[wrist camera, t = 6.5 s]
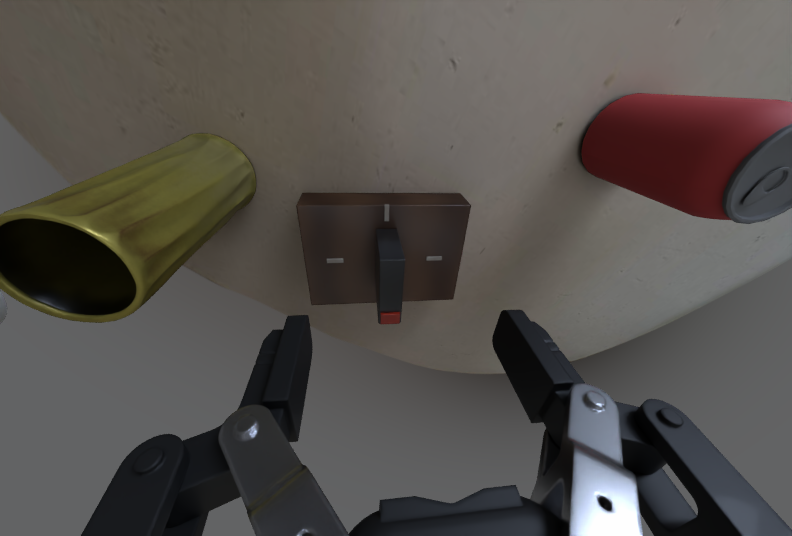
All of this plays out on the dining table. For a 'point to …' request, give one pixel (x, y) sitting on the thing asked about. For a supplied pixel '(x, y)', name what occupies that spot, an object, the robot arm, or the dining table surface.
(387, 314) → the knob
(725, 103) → the beer can
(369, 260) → the panel
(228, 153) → the vase
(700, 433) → the robot arm
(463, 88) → the dining table surface
